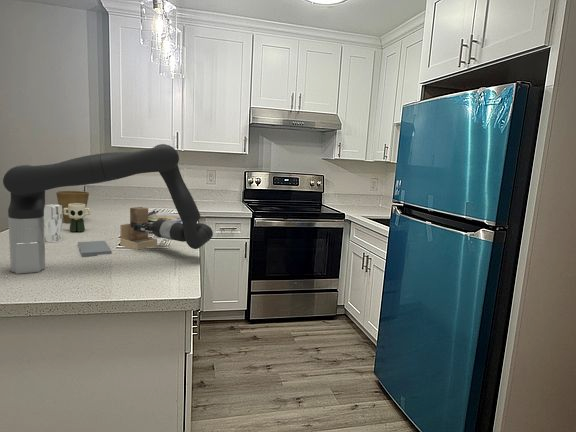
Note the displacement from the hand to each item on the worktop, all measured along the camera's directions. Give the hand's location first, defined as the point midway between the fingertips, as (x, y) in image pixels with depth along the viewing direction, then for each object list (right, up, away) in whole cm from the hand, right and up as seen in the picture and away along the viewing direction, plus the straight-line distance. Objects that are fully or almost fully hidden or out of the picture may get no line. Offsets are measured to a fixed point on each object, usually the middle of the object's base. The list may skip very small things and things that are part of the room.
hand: (139, 223), depth 156 cm
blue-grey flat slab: (-15, -10, -8) cm, 20 cm away
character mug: (-38, -4, +21) cm, 44 cm away
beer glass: (-37, -7, +2) cm, 38 cm away
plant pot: (-52, 0, +42) cm, 66 cm away
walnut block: (-1, -9, +2) cm, 10 cm away
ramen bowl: (-3, -5, +36) cm, 36 cm away
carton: (0, -10, +1) cm, 10 cm away
